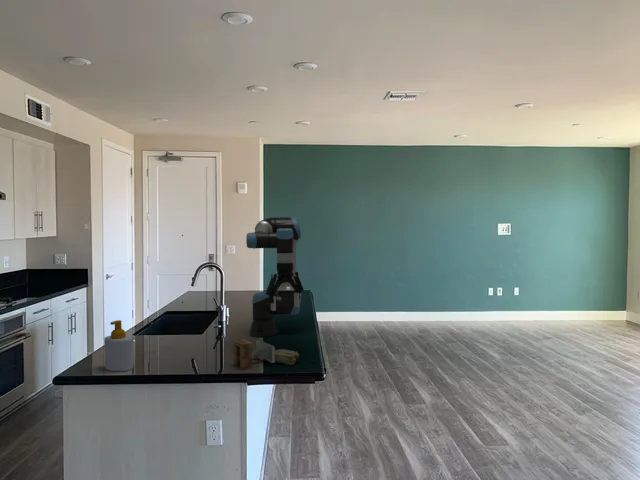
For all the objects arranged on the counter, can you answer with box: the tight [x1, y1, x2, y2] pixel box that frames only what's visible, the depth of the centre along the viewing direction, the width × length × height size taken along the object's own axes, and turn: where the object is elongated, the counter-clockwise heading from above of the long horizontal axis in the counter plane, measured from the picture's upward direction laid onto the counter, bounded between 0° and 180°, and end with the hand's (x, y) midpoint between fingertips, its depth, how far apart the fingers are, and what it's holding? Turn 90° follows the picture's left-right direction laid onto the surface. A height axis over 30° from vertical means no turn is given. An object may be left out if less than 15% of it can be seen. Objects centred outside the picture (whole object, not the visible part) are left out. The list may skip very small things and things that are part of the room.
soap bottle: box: [103, 319, 134, 372], centre depth 192 cm, size 13×8×20 cm, turn 69°
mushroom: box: [270, 348, 300, 366], centre depth 201 cm, size 14×10×5 cm, turn 70°
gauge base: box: [233, 338, 254, 370], centre depth 199 cm, size 12×12×10 cm
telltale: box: [252, 348, 258, 360], centre depth 204 cm, size 2×1×4 cm, turn 127°
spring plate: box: [252, 339, 276, 364], centre depth 197 cm, size 10×14×7 cm
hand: (285, 308), depth 208 cm, fingers open, 13 cm apart
